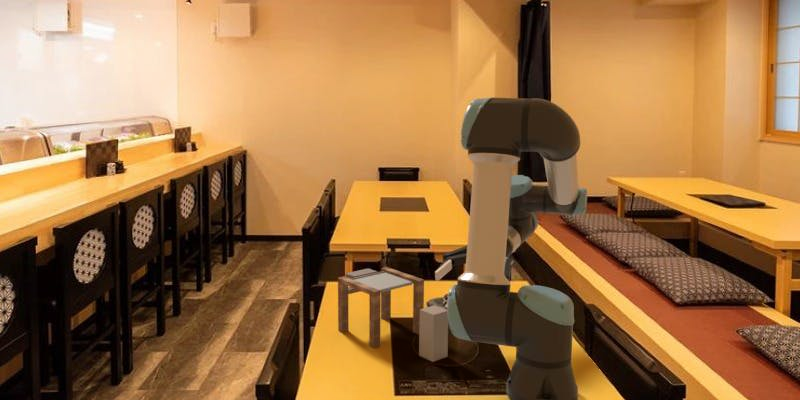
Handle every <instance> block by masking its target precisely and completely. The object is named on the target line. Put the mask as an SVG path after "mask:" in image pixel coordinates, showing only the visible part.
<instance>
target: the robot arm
mask: <svg viewBox="0 0 800 400" xmlns="http://www.w3.org/2000/svg"><path fill="white" fill-rule="evenodd" d="M460 135H461V138H460V142H461V143H460V144H461V147H462V149H464V150H466V151H467V158H468V159H469V160H470V161H471V163H472V164H473V170H472V171H473V172H472V185H471V194H470V209H469V219H468V220H469V223H468V232H467V233H468V234H467V245H466V246H463V247H459V248H456V249H454V250H451V251H449V252H445V253H442V263H441V264H439V266H438V268H437V269H436V270H435V271H434V278H435V281H436V282H439V281H440V280H441V279H442V278H443V277H445V275H447V274H448V273H449V272H450V271H451V270H452V269H453V267H455V266H456V267H457V266H460V265H465V270H464V272H463V273H462V274H460V275H459V276H458V277H457V283H456V284H454V285H452V286H450V287H449V291H448V293H447V294H448V300H447V315H448V328H449V329H450V332H451V334H452V335H453V336H454V337H455V338H456V339H460V340H465V341H469V342H471V343H476V342H477V343H484V344H491V345H497V346H504V347H505V346H506V347H513V348H516V349H515V360H514V362H513V365H512V368H511V370H510V372H509V375H508V378H507V380H506V390H505V391H506V396H507V397H508V399H510V400H578V399H579V395H578V394H579V389H578V388H579V387H578V385H577V383H576V379H575V374H574V370H573V367H572V355H573V354H572V352H573V351H572V350H573V333H574V332H573V331H574V330H573V329H574V324H575V317H574V316H575V315H574V312H575V311H574V309H575V308H574V303H573V301H572V299H571V298H570V297H569V295H567V294H565V293H563V292H562V291H560V290H557V289H555V288H551V287H548V286H543V285H539V284H538V285H537V284H533V285H531V284H527V285H523V286H521V287H520V288H519V289H518V291H516V292H515V291H511V271H512V267H513V266H514V264H515V261H514V260H515V259H514V255H512V254H513V253H514V252H516V250H517V249H518V248H519V247H520V246H521V245H522V244H523V243H524V242H525V241H526V240H527V239H528V238H531V236H532V235H534V232H535V231H536V230H537V229H538V226H539V219H538V217H537V215H536V214H535V213H540V214H541V213H543V214H553V215H554V214H555V215H567V216H571V217H572V216H583V215H585V214H586V213H587V203H588V190H587V189H586V188H584V187H579V178H578V176H579V175H578V159H577V154H578V152H579V150H580V147H581V135H580V130H579V128H578V125H577V124H576V122H575V121H574V119H573V118H572V116H570V115H569V114H568V112H567V111H565V110H564V109H563V108H562V107H561V106H559V105H558V104H556V103H555V102H553V101H550V100H547V99H543V98H538V97H537V98H535V97H533V98H522V97H521V98H517V97H515V98H514V97H513V98H512V97H492V96H491V97H487V98H484V97H483V98H476V99H474V100H472V101H471V102H470V103H469V104H468V106H467V108H466V110H465V113H464V116H463V119H462V125H461V132H460ZM522 152H528V153H530V152H535V153H539V154H540V156H541V158H543V164H544V168H545V176H546V180H547V181H546V182H547V185H543V184H542V185H539V184H533V181H532V179H531V178H530V177H529V176H525V175H524V174H517V175H513V167H514V166H516V164H518V162H520V161H521V153H522Z"/></svg>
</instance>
